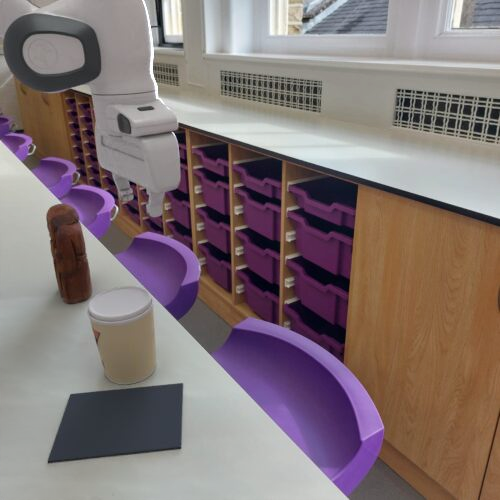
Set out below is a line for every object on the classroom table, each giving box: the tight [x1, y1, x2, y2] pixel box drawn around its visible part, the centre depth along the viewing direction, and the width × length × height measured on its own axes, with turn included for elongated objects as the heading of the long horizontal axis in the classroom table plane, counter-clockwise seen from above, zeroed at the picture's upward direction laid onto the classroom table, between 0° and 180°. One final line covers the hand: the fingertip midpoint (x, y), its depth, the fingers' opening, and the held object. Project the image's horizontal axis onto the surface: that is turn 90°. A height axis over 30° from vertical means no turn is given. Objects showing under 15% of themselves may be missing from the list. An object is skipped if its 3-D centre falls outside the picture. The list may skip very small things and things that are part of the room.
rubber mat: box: [47, 382, 184, 464], centre depth 65 cm, size 16×12×1 cm
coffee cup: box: [86, 285, 157, 385], centre depth 72 cm, size 9×9×12 cm
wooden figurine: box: [45, 202, 93, 304], centre depth 94 cm, size 12×6×18 cm, turn 25°
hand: (140, 207), depth 73 cm, fingers open, 8 cm apart
